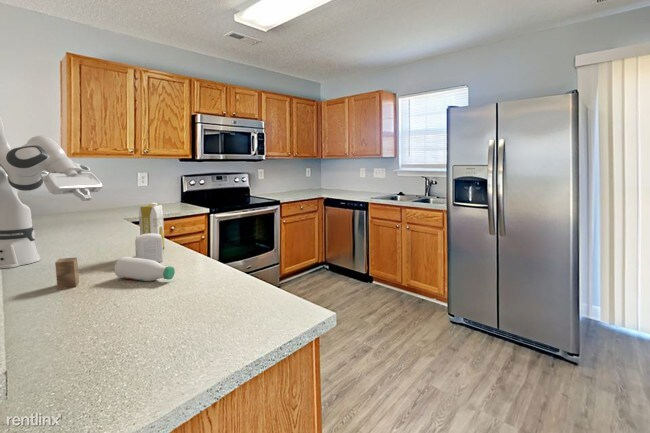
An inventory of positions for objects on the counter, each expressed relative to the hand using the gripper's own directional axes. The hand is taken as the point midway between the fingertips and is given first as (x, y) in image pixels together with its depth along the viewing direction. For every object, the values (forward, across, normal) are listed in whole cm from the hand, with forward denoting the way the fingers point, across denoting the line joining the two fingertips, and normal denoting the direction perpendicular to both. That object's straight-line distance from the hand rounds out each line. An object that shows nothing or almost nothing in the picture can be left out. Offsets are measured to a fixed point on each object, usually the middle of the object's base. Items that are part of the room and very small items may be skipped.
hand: (87, 199), depth 131 cm
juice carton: (+25, +25, +13) cm, 38 cm away
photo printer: (+29, +16, +9) cm, 34 cm away
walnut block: (+25, -16, +14) cm, 32 cm away
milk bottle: (+29, -4, +4) cm, 29 cm away
